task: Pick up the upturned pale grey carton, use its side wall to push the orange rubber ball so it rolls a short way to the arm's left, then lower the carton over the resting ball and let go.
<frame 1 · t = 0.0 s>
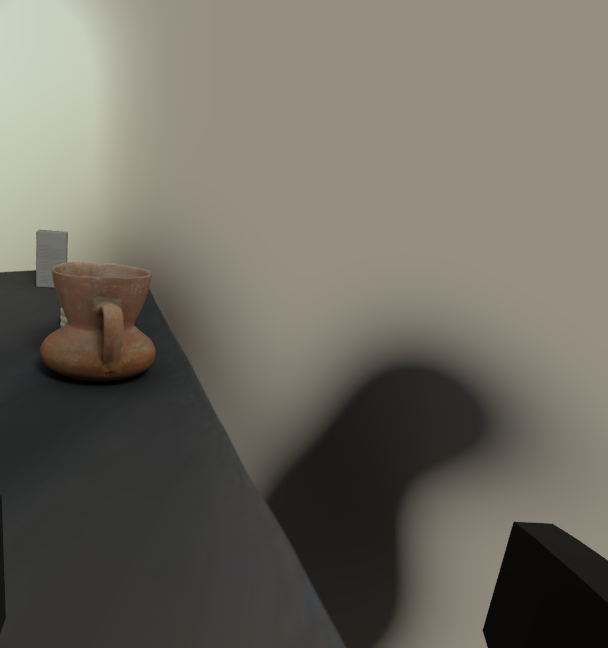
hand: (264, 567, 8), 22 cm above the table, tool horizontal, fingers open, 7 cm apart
ceramic jug: (99, 375, 77), on the table
skincare box: (51, 286, 128), on the table
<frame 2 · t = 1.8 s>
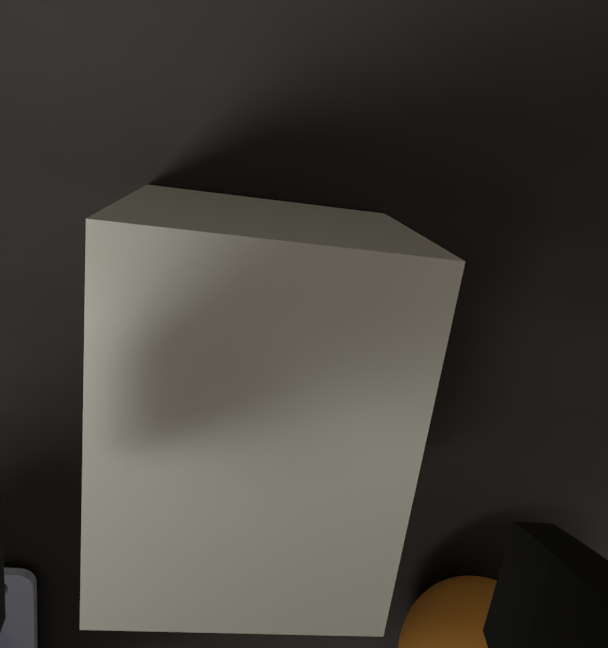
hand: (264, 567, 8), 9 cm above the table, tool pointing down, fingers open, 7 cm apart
pale grey carton: (253, 345, 17), on the table
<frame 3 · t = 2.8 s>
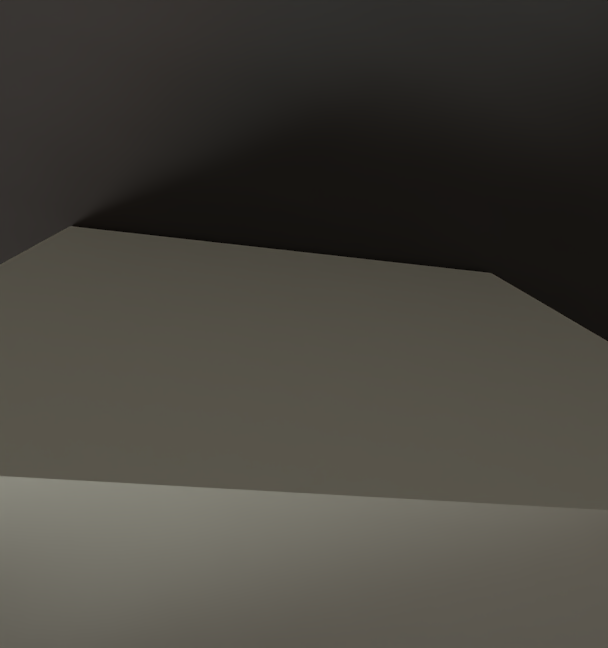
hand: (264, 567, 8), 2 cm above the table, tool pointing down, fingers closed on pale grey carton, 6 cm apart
pale grey carton: (260, 489, 10), on the table, touching gripper
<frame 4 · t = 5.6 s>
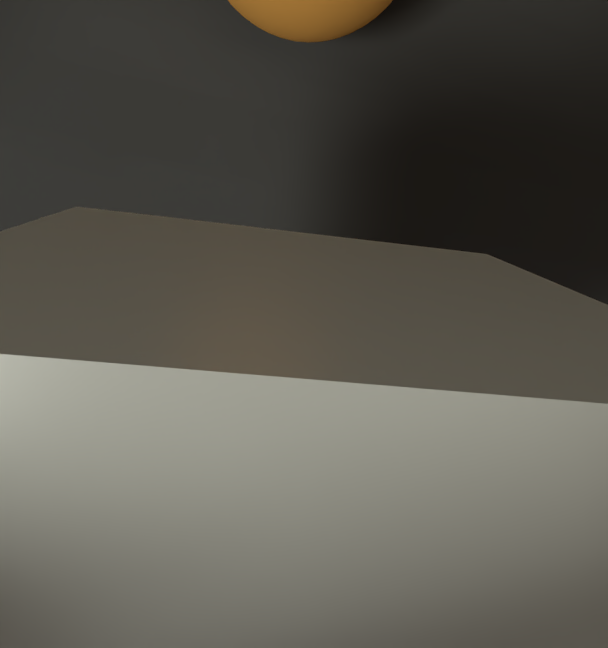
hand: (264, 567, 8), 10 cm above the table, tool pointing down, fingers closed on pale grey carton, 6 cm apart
pale grey carton: (262, 471, 10), point 8 cm above the table, touching gripper
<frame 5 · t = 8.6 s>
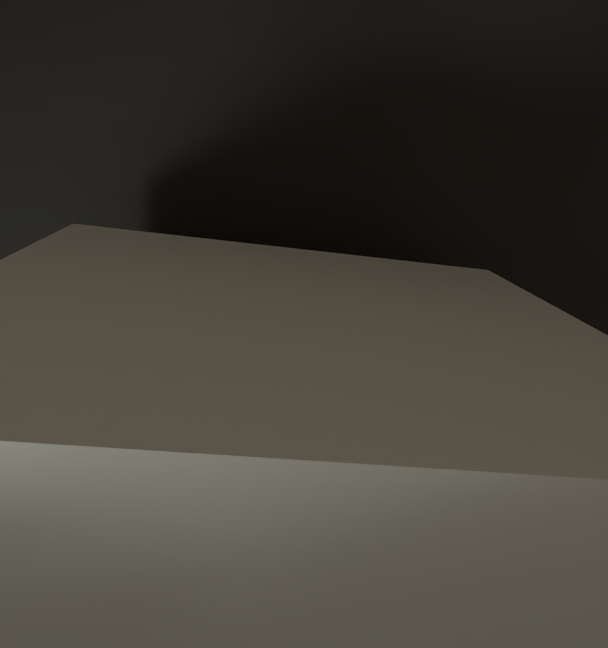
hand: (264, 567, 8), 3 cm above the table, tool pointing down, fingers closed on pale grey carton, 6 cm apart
pale grey carton: (260, 485, 10), point 1 cm above the table, touching gripper
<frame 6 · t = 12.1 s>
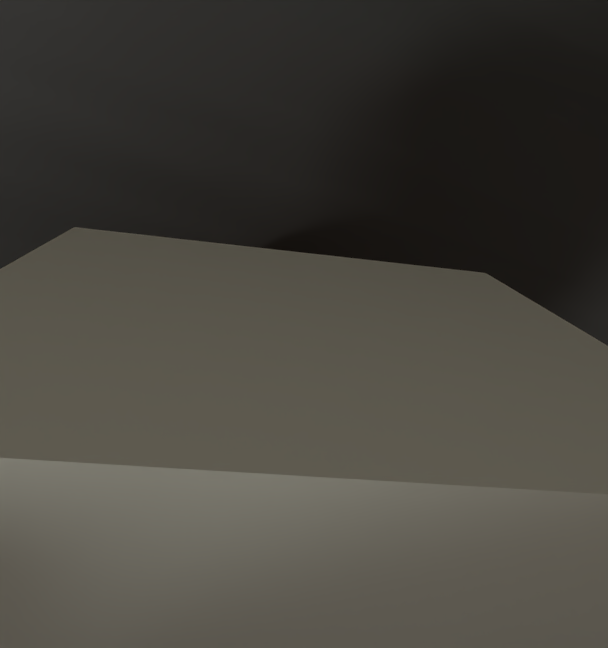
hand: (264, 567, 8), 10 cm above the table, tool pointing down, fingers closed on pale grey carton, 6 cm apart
pale grey carton: (260, 484, 10), point 8 cm above the table, touching gripper
when the fingers open (2 cm above the table, at t = 15.3 s): pale grey carton stays where it is, on the table.
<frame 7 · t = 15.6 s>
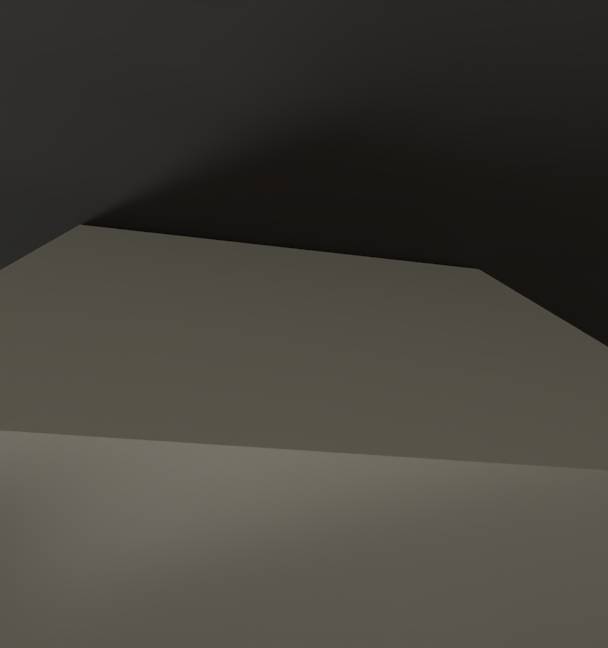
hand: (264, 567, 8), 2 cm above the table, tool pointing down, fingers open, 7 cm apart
pale grey carton: (260, 475, 10), on the table
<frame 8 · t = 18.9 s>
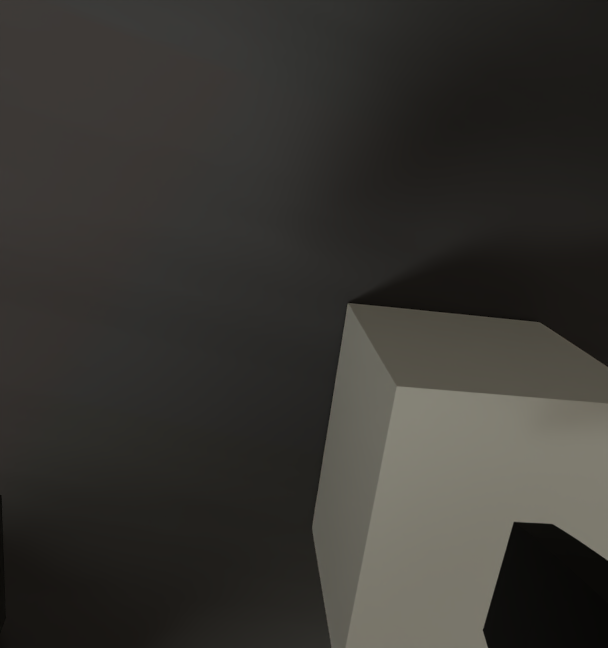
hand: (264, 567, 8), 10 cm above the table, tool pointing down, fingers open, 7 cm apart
pale grey carton: (420, 429, 20), on the table
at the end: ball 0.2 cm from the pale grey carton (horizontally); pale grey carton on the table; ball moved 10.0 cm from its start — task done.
